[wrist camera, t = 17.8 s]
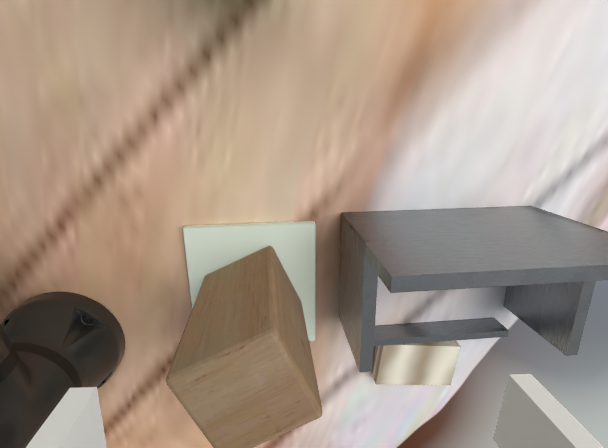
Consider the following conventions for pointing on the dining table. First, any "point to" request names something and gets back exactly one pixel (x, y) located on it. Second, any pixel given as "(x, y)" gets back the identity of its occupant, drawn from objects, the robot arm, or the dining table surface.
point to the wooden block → (246, 356)
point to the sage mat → (249, 239)
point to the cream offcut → (416, 363)
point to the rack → (469, 271)
